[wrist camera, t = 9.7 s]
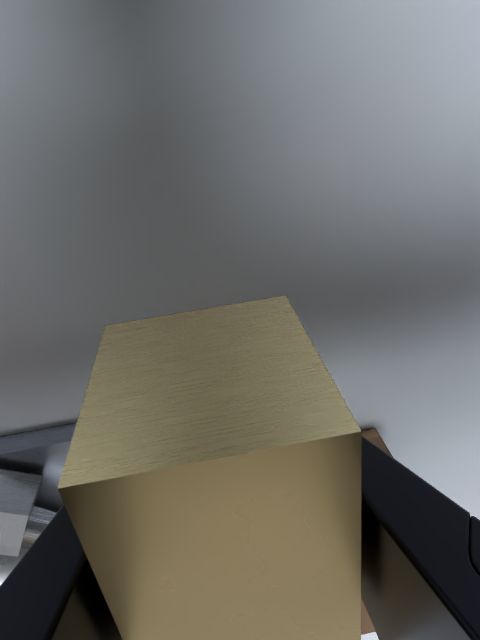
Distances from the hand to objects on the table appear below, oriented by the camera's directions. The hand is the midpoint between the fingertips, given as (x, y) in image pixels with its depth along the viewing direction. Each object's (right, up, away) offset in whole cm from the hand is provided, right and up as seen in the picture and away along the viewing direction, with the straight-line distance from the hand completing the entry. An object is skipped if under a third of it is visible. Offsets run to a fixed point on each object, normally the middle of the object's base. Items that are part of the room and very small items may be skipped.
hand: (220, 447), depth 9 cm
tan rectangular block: (0, +1, +1) cm, 1 cm away
